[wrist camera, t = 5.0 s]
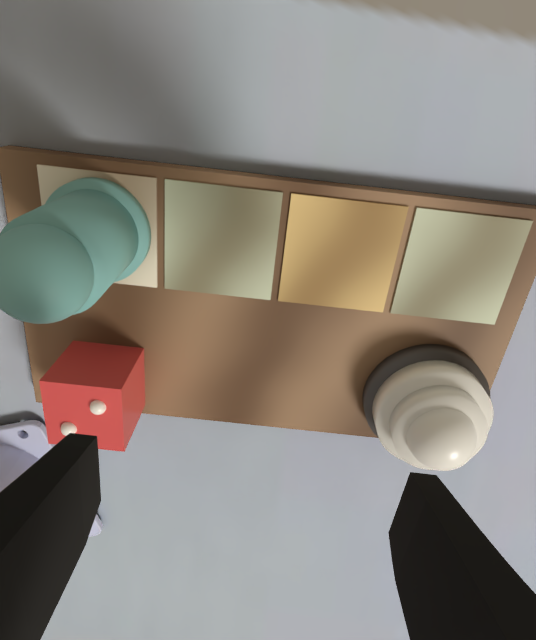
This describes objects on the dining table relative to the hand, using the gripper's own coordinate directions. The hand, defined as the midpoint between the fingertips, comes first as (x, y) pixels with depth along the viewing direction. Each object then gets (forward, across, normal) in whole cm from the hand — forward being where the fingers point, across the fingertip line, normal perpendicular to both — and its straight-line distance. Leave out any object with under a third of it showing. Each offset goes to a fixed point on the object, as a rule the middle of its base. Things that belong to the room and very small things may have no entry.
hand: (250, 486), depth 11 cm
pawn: (+9, +6, -3) cm, 11 cm away
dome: (+8, -7, +3) cm, 11 cm away
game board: (+10, 0, 0) cm, 10 cm away
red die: (+9, +6, +4) cm, 12 cm away
